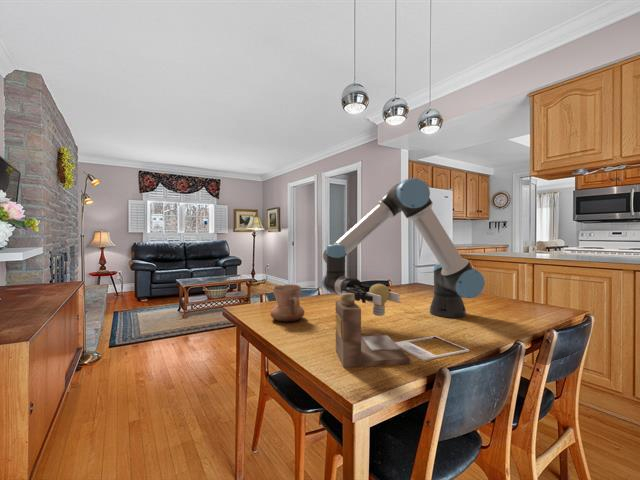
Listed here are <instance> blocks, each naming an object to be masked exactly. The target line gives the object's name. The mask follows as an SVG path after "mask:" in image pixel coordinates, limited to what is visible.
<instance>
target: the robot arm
mask: <svg viewBox="0 0 640 480" xmlns="http://www.w3.org/2000/svg"><path fill="white" fill-rule="evenodd" d="M429 187H430V186H429V185H428V184H427V183H426V182H425V181H424V180H423V179H420V178H416V177H415V178H413V177H412V178H407V179H404V180H402V181H401V182H399V183H396V184H395V185H393V186H392V187H391V188H390V189H389V190H388V191H387V193H386V194H384V195H383V197H381V198H380V200H378V201H377V205H376V206H375V207H374V208H372V209H371V210H370V211H369V212H368V213H367V214H366V215H364V216H363V217H362V218H361V219H360V220H359V221H358V222H357V223H355V224H354V225H353V227H351V228H350V229H348V230H347V232H345V233H344V234H343V235H342V236H341V237H339V239H337V240H336V241H335V242H334V243H333V244H327V245H326V248H325V250H324V251H323V253H322V258H323V260H324V262H325V263H326V272H325V275H324V276H323V278H322V281H321V284H322V287H323V288H324V289H325V290H326V291H327V292H329V293H332V294H335V295H338V296H341V293H354V301H357V302H360V300H361V303H363V304H366V303H367V302H369V303H371V304H373V305H374V304H377V305H381V296H380V295H376V294H373V293H369V290H370V287H371V286H372V285H365V284H363V283H362V282H361V281H360V279H357V278H353V277H350V276H346V256H348V255H349V254H350V253H351V252H352V251H353V250H354V249H355V248H356V247H358V246H359V245H360V244H361V243H362V242H363V241H364V240H366V239H367V238H368V237H369V236H370V235H371V234H372V233H374V232H375V231H376V230H377V229H378V228H379V227H380V226H381V225H382V224H384V223H385V222H386V221H387V220H388V219H390V218H391V219H393V218H395V216H397V215H398V214H399V213H403V215H404V216H405V218H406V219H409V220H412V222H413V224H414V225H415V226H416V228H417V230H418V231H419V233H420V234H421V236H422V238H423V239H424V241H425V243H426V244H427V246H428V247H429V249H430V251H431V252H432V254H433V256H434V257H435V258H436V260H437V262H438V263H435V264H434V266H433V298H432V300H431V303H430V307H429V313H430V314H432V315H433V316H436V317H441V318H451V319H452V318H453V319H455V318H464V317H466V316H467V310H466V307H465V304H464V301H463V299H475V298H476V297H478V296H480V294H482V293H483V290H484V288H485V287H484V286H485V284H486V283H485V282H486V281H485V277H484V275H483V274H482V272H480V271H479V270H477V269H474V267H473V265H472V264H471V263H470V261H469V260H468V259H467V258H463V257H462V256H461V254H460V253H459V251H458V250H457V248H456V246H455V245H454V243H453V241H452V240H451V238H450V236H449V235H448V233H447V231H446V229H445V228H444V227H443V225H442V223H441V222H440V220H439V219H438V217H437V215H436V214H435V212H434V210H433V209H432V207H433V201H432V200H431V197H430V196H431V189H430V188H429ZM388 289H389V298H388V300H387V301H389V302H394V303H396V304H397V303H398V304H399V303H400V293H396V292H393V291H392V289H390V288H388Z"/></svg>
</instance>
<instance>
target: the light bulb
mask: <svg viewBox="0 0 640 480" xmlns="http://www.w3.org/2000/svg"><path fill="white" fill-rule="evenodd" d="M370 286H371V287H370V290H369V293H373V294H376V295H380V296H381V305H377V304H374V303H373V305H372V314H373V315H374V316H377V317H382V316H384V315H385V314H386V305H385V303H386V302H388V301H389V300H388V298H389V289H390V288H388V287H387V286H386V285H385V284H382V283H375V284H373V285H370Z"/></svg>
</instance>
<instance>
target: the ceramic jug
mask: <svg viewBox="0 0 640 480" xmlns="http://www.w3.org/2000/svg"><path fill="white" fill-rule="evenodd" d="M272 291H273V296H274V297H275V298H274V299H275V301H276V303H277V304H276V305H275V306H274V307H273V308H272V309H271V310H270V313H269V314H270V317H271V318H272V319H273V320H276V321H278V322H284V323H289V322H295V321H298V320H301V319H302V318H303V317H304V316H305V309H304V307H303V306H301V305H300V297H301V292H302V285H299V284H289V283H288V284H278V285H275V286H273V287H272Z"/></svg>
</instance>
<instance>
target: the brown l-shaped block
mask: <svg viewBox="0 0 640 480" xmlns="http://www.w3.org/2000/svg"><path fill="white" fill-rule="evenodd" d="M335 352H336V353H335V354H336V355H337V357H338V359H339V361H340V364H341V366H342V368H343V369H345V368H347V369H348V368H361V367H365V368H366V367H381V366H394V365H410V364H411V358H410V357H409V356H408V355H407V354H406V353H405V351H404V350H402V349H401V348H400V347H399V346H398V345H397V344H396V343H395V341H394V340H393V339H392V338H391V337H390V336H389V335H387V334H385V333H372V334H369V333H368V334H362V308H361V307H359V305H358V304H356V302H355V300H354V293H341V295H340V299H335Z"/></svg>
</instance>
